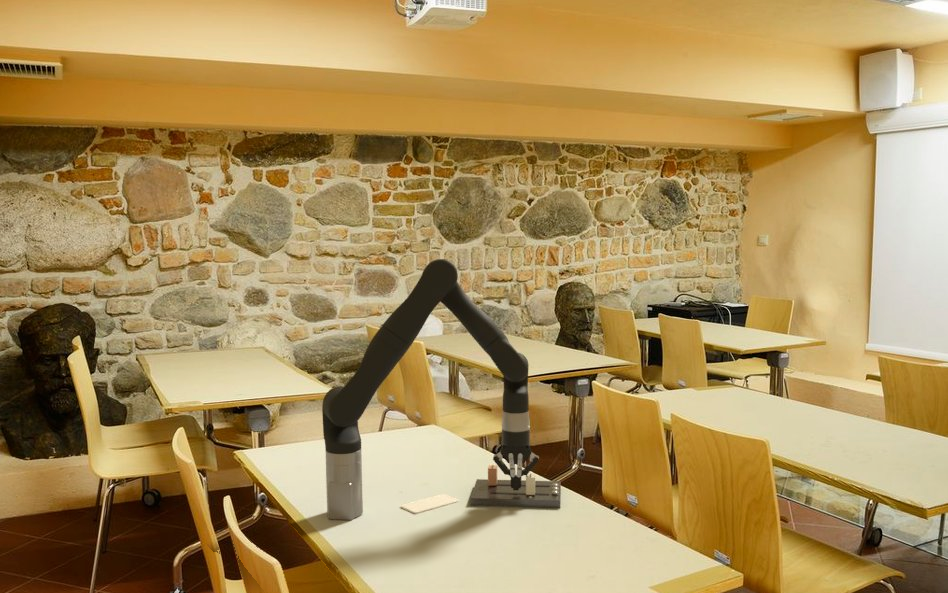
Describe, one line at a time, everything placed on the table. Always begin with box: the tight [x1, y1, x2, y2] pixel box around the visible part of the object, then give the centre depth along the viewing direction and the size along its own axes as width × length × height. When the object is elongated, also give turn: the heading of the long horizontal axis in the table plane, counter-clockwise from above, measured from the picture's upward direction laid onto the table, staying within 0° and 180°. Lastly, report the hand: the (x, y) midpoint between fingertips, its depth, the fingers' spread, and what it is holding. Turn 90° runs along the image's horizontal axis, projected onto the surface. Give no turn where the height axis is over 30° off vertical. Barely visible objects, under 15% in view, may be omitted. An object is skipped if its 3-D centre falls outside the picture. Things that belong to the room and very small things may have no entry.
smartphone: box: [400, 493, 460, 515], centre depth 218 cm, size 7×1×15 cm
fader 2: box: [525, 473, 536, 495], centre depth 218 cm, size 3×2×5 cm
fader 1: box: [487, 464, 498, 486], centre depth 227 cm, size 3×2×5 cm
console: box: [469, 478, 562, 509], centre depth 223 cm, size 16×24×3 cm, turn 84°
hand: (516, 489), depth 219 cm, fingers closed
